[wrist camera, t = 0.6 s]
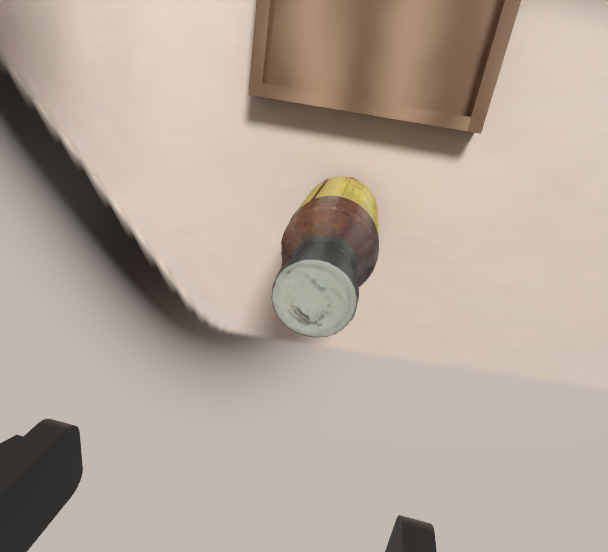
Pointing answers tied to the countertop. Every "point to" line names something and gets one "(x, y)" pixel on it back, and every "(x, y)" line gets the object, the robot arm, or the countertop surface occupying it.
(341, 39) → the walnut tray
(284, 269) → the sauce bottle
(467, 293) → the countertop surface
